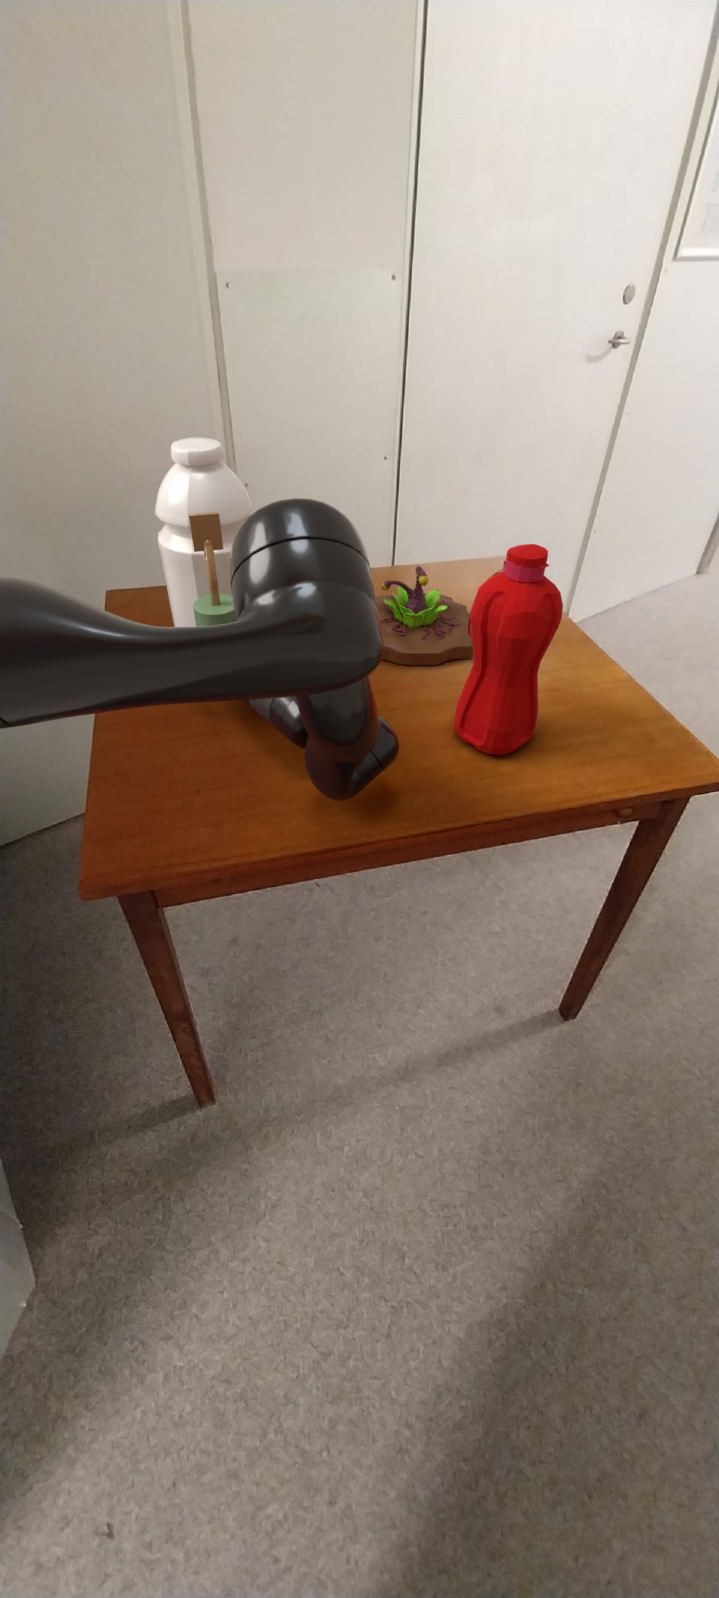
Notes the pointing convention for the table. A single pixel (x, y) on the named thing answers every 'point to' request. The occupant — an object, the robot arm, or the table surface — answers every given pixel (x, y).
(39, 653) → the robot arm
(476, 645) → the water bottle
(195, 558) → the bottle
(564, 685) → the table surface
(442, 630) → the plant
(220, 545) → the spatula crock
